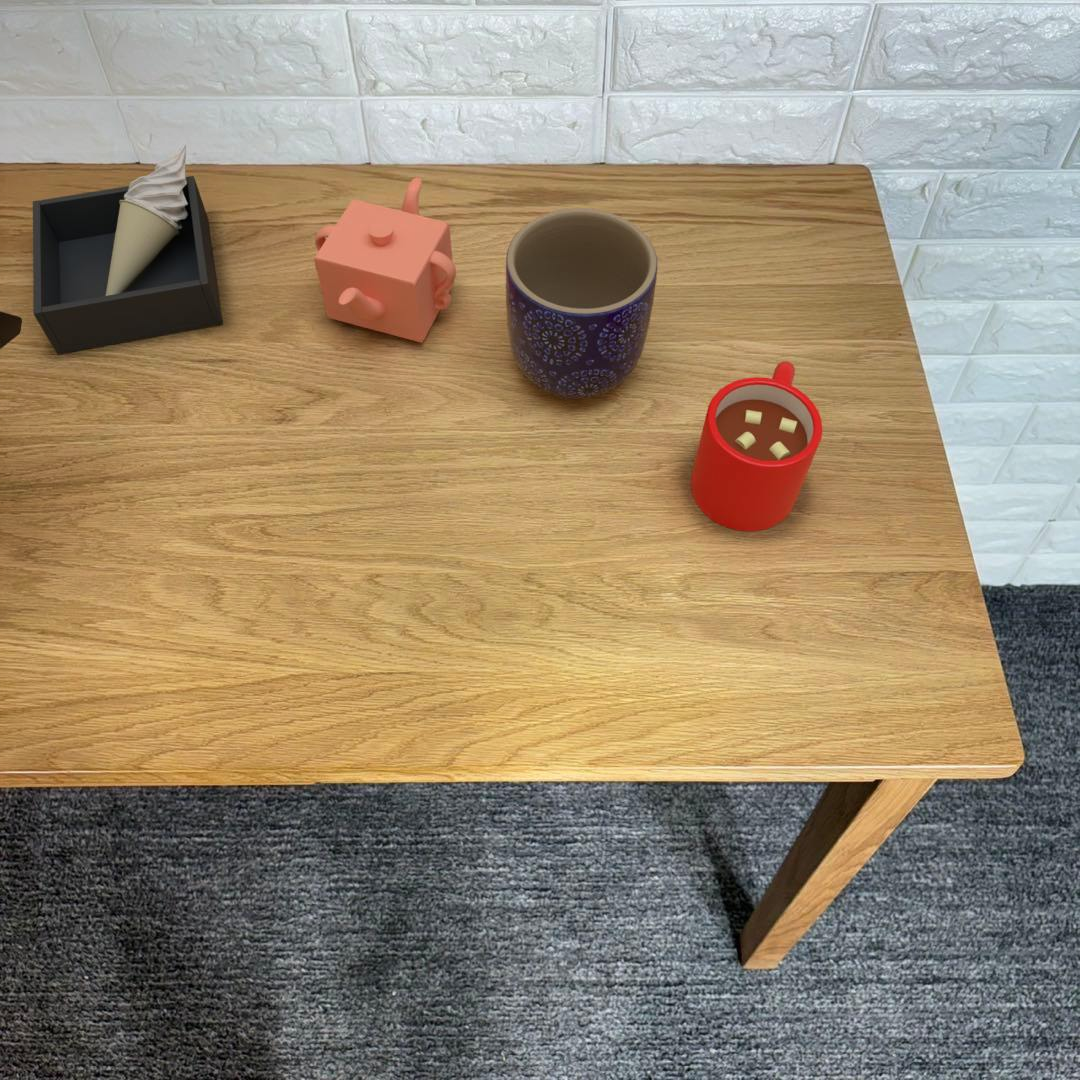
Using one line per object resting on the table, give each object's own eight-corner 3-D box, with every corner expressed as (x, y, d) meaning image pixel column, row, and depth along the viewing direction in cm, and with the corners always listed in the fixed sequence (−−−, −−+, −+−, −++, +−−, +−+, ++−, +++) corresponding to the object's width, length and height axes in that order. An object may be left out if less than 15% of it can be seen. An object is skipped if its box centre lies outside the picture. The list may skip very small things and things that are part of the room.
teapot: (288, 351, 81) (265, 274, 74) (364, 231, 88) (350, 150, 81) (424, 389, 79) (414, 313, 72) (490, 262, 86) (487, 182, 79)
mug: (818, 421, 78) (845, 352, 71) (783, 544, 72) (809, 481, 65) (719, 393, 79) (737, 323, 72) (677, 512, 73) (693, 447, 66)
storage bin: (57, 354, 80) (33, 313, 76) (54, 244, 87) (32, 201, 83) (223, 324, 82) (208, 283, 78) (208, 218, 89) (193, 175, 85)
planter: (592, 296, 84) (601, 187, 75) (669, 380, 80) (689, 275, 70) (482, 347, 81) (476, 240, 72) (555, 438, 76) (559, 336, 67)
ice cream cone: (146, 325, 84) (221, 169, 86) (123, 306, 79) (203, 140, 81) (92, 302, 84) (168, 147, 86) (65, 281, 79) (146, 116, 81)
